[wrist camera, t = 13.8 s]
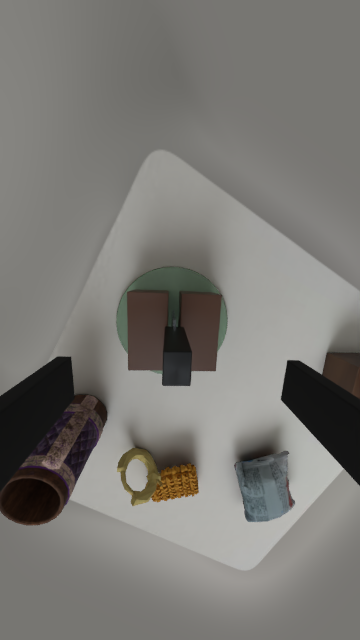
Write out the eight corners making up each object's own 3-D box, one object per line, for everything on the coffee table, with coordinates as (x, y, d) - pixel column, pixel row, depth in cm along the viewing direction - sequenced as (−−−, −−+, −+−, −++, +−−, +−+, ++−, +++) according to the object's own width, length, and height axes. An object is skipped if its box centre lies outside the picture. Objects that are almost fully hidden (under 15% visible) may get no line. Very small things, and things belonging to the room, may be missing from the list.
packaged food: (279, 438, 32) (299, 467, 27) (287, 492, 34) (306, 527, 30) (228, 451, 32) (238, 481, 27) (240, 503, 34) (251, 540, 30)
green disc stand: (230, 269, 26) (246, 267, 20) (221, 372, 29) (233, 394, 23) (116, 264, 25) (102, 260, 19) (119, 372, 28) (107, 394, 22)
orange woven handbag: (225, 503, 27) (134, 484, 22) (180, 528, 31) (91, 517, 25) (214, 451, 33) (139, 425, 28) (176, 477, 37) (104, 459, 31)
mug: (94, 441, 30) (46, 545, 18) (51, 420, 29) (-30, 518, 17) (128, 390, 28) (99, 469, 17) (84, 367, 27) (21, 433, 16)
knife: (180, 310, 26) (192, 341, 13) (179, 339, 26) (190, 395, 14) (165, 310, 25) (163, 341, 13) (165, 338, 26) (162, 395, 14)
